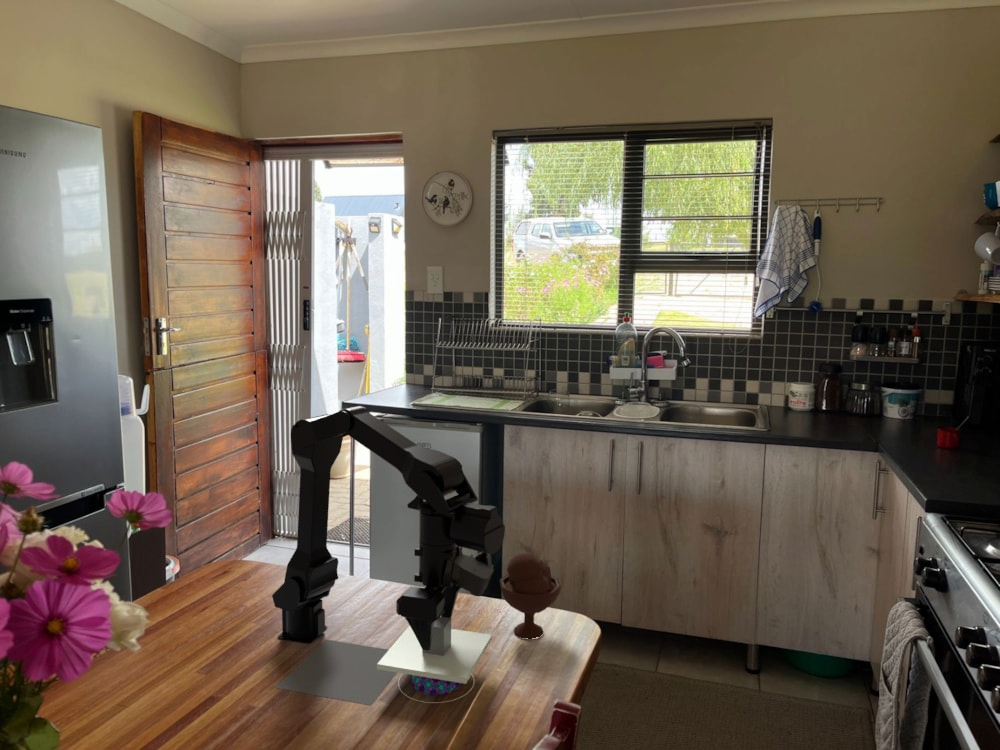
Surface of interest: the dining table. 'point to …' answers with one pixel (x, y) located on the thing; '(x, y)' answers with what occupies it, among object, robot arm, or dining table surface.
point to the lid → (437, 653)
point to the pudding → (434, 686)
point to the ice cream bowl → (529, 591)
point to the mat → (340, 673)
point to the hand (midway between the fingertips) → (436, 635)
